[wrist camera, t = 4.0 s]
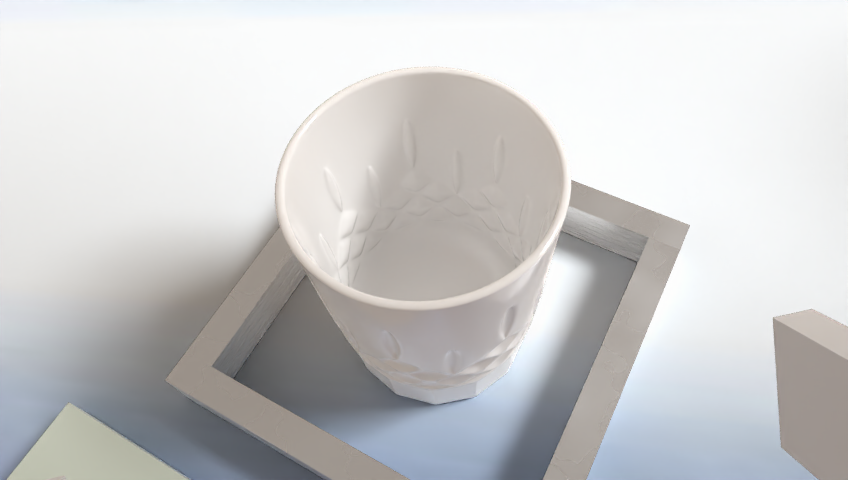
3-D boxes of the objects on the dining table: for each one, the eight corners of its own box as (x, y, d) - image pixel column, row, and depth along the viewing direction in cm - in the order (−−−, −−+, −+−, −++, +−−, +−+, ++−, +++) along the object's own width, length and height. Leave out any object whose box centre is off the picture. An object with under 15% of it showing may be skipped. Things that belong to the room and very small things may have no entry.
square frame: (376, 132, 31) (371, 103, 29) (676, 250, 27) (690, 225, 25) (185, 396, 25) (164, 380, 23) (531, 602, 21) (536, 600, 19)
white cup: (543, 424, 24) (581, 312, 15) (329, 417, 24) (249, 306, 16) (535, 237, 28) (562, 63, 19) (351, 235, 28) (297, 67, 20)
